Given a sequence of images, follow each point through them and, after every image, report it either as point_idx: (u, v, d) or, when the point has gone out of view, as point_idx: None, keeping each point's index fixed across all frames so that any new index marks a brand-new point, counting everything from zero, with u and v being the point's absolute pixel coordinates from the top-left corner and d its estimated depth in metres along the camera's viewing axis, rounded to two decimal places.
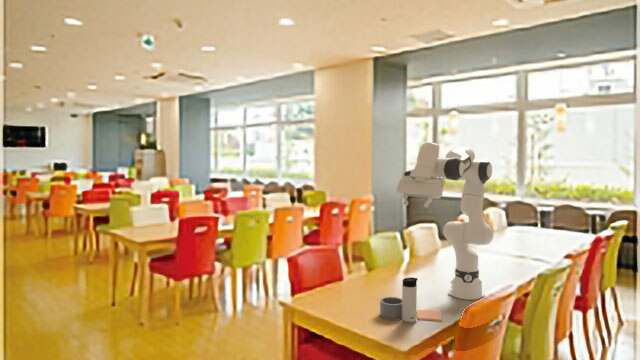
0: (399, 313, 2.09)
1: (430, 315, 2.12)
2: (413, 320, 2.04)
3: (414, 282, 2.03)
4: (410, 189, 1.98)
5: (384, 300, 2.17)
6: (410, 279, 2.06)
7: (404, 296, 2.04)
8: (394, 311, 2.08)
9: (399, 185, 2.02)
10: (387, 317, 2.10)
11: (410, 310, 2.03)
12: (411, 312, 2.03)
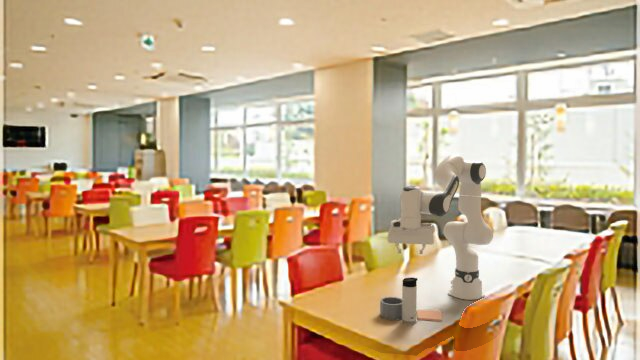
0: (399, 313, 2.09)
1: (430, 315, 2.12)
2: (413, 320, 2.04)
3: (414, 282, 2.03)
4: (402, 239, 2.03)
5: (384, 300, 2.17)
6: (410, 279, 2.06)
7: (404, 296, 2.04)
8: (394, 311, 2.08)
9: (390, 235, 2.04)
10: (387, 317, 2.10)
11: (410, 310, 2.03)
12: (411, 312, 2.03)
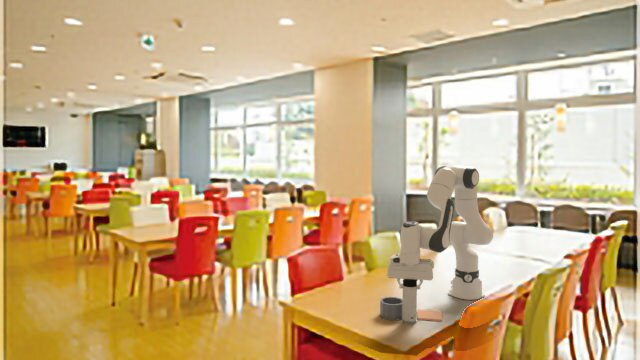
0: (399, 313, 2.09)
1: (430, 315, 2.12)
2: (413, 320, 2.04)
3: (414, 282, 2.03)
4: (401, 275, 2.04)
5: (384, 300, 2.17)
6: (410, 279, 2.06)
7: (404, 296, 2.04)
8: (394, 311, 2.08)
9: (389, 271, 2.05)
10: (387, 317, 2.10)
11: (410, 310, 2.03)
12: (411, 312, 2.03)
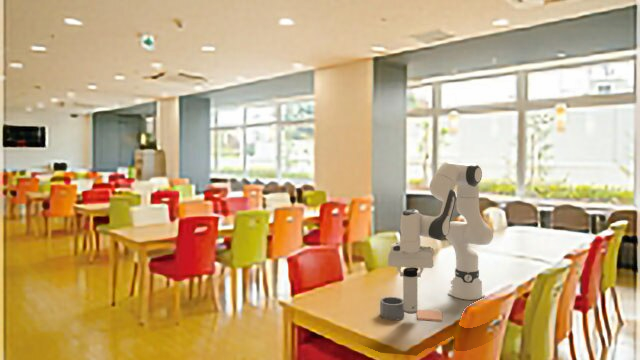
0: (399, 313, 2.09)
1: (430, 315, 2.12)
2: (414, 310, 2.04)
3: (415, 272, 2.03)
4: (402, 263, 2.04)
5: (384, 300, 2.17)
6: (411, 269, 2.06)
7: (405, 286, 2.04)
8: (394, 311, 2.08)
9: (390, 259, 2.05)
10: (387, 317, 2.10)
11: (411, 300, 2.03)
12: (412, 302, 2.03)
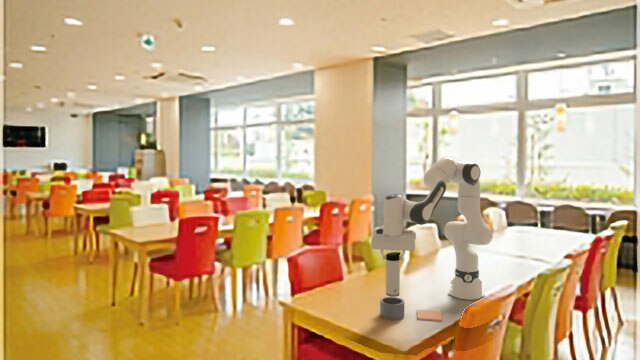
0: (399, 313, 2.09)
1: (430, 315, 2.12)
2: (396, 293, 2.11)
3: (397, 256, 2.10)
4: (385, 246, 2.11)
5: (384, 300, 2.17)
6: (393, 253, 2.13)
7: (387, 270, 2.11)
8: (394, 311, 2.08)
9: (373, 242, 2.12)
10: (387, 317, 2.10)
11: (393, 283, 2.10)
12: (394, 285, 2.10)
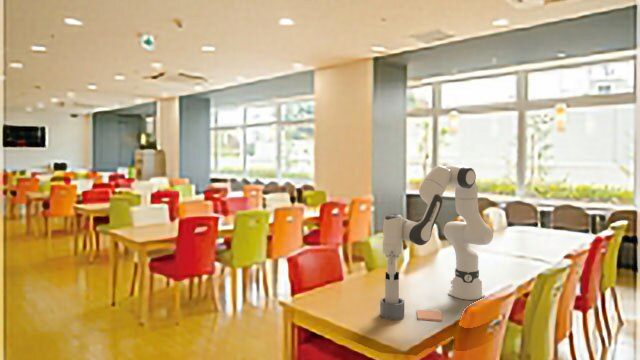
0: (399, 313, 2.09)
1: (430, 315, 2.12)
2: None
3: (389, 275, 2.10)
4: None
5: (384, 300, 2.17)
6: None
7: None
8: (394, 311, 2.08)
9: None
10: (387, 317, 2.10)
11: (386, 301, 2.13)
12: None
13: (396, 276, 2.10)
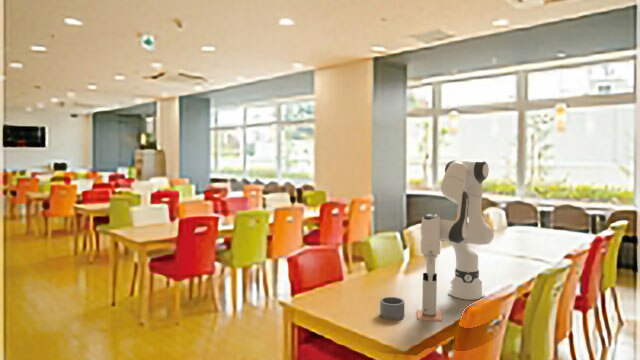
0: (399, 313, 2.09)
1: None
2: (426, 313, 2.10)
3: None
4: None
5: (384, 300, 2.17)
6: None
7: None
8: (394, 311, 2.08)
9: (425, 257, 2.21)
10: (387, 317, 2.10)
11: (423, 302, 2.11)
12: (424, 304, 2.11)
13: (434, 277, 2.09)
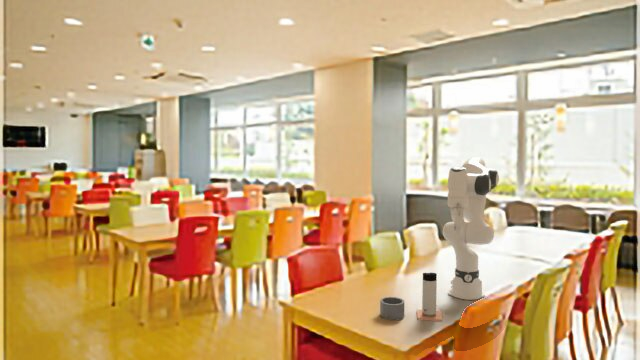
0: (399, 313, 2.09)
1: None
2: (426, 313, 2.10)
3: (427, 276, 2.09)
4: (452, 217, 2.15)
5: (384, 300, 2.17)
6: (431, 274, 2.11)
7: None
8: (394, 311, 2.08)
9: (451, 212, 2.20)
10: (387, 317, 2.10)
11: (423, 302, 2.11)
12: (424, 304, 2.11)
13: (434, 277, 2.09)
